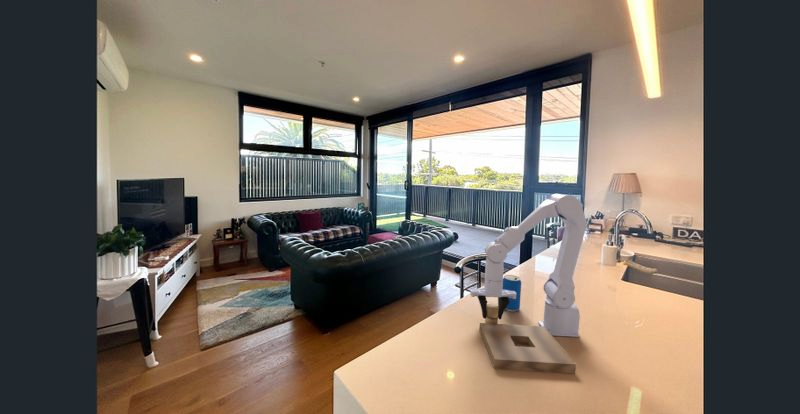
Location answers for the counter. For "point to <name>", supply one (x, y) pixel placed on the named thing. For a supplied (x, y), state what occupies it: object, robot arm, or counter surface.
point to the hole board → (525, 348)
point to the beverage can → (512, 285)
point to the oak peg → (491, 314)
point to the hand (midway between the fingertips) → (491, 317)
